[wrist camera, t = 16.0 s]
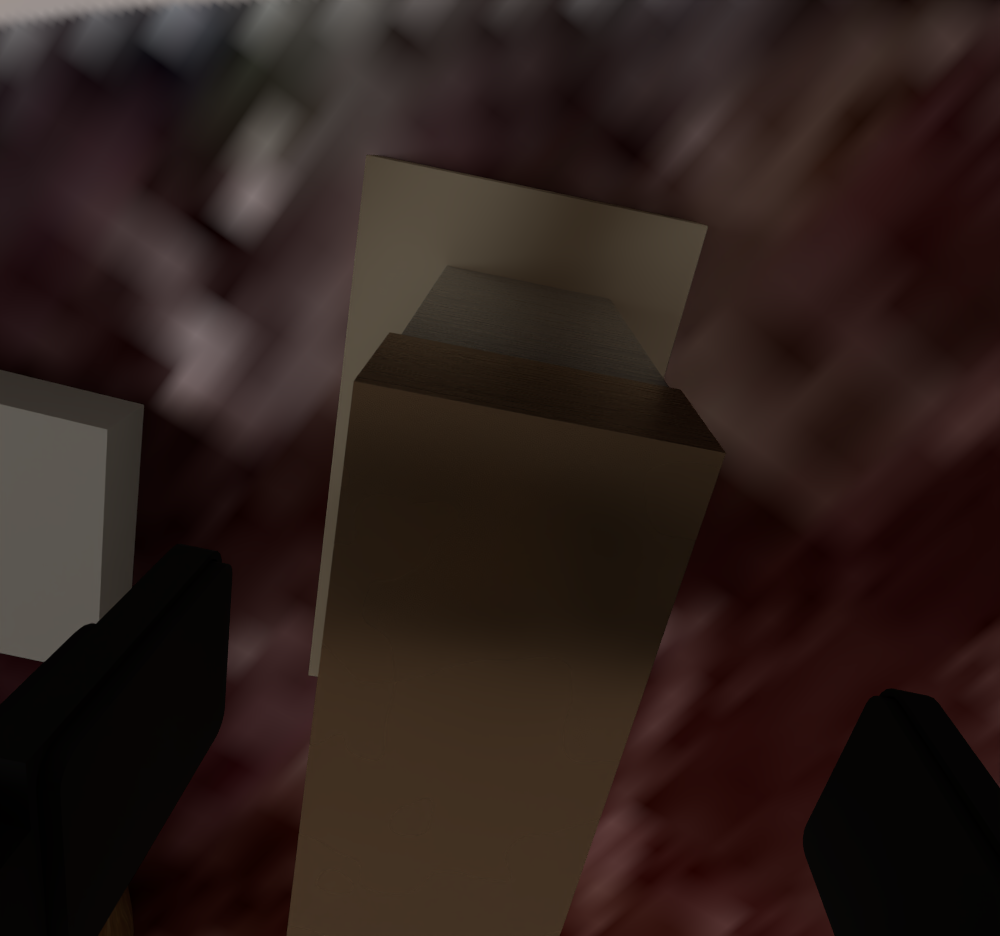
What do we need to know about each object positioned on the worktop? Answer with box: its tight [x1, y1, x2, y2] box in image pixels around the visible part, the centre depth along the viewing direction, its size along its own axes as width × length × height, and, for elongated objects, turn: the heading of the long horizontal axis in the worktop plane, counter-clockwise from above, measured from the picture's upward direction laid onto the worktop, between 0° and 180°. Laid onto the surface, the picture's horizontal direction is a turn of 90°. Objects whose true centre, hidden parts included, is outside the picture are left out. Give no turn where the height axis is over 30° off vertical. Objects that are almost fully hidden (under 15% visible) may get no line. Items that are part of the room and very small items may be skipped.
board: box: [309, 155, 708, 677], centre depth 18 cm, size 7×13×1 cm, turn 169°
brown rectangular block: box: [287, 266, 726, 936], centre depth 13 cm, size 4×9×9 cm, turn 169°
